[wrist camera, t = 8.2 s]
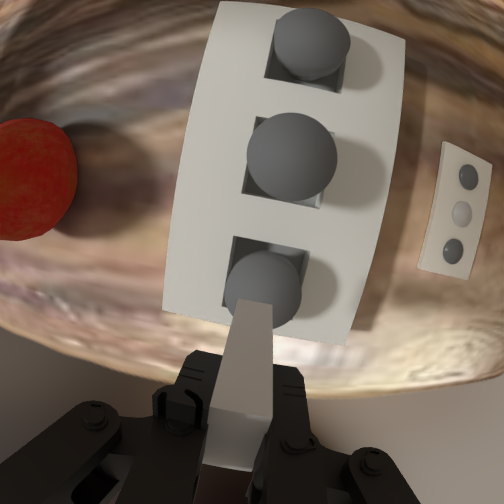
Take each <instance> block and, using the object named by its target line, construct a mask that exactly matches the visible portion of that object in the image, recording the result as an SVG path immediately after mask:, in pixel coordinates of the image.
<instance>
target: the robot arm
mask: <svg viewBox="0 0 504 504" xmlns="http://www.w3.org/2000/svg"><path fill="white" fill-rule="evenodd" d="M152 399H153V400H152V402H153V415H152V416H149V417H144V418H133V417H121V416H119V415H118V413H117V411H116V410H115V409H114V408H113V407H111V406H110V405H108V404H106V403H104V402H100V401H86V402H82V403H80V404H78V405H76V406H75V407H74V408H72V409H71V410H70V411H69V412H67V413H66V414H65V415H64V416H62V417H61V418H60V419H58V420H57V421H56V422H54V423H53V424H52V425H51V426H49V427H48V428H47V429H45V430H44V431H43V432H41V433H40V434H39V435H38V436H36V437H35V438H34V439H32V440H31V441H30V442H28V443H27V444H26V445H25V446H23V447H22V448H21V449H20V450H18V451H17V452H15V453H14V454H13V455H12V456H10V457H9V458H8V459H6V460H5V461H4V462H2V463H1V464H0V504H108V503H109V502H110V501H111V500H112V499H113V498H114V496H115V495H116V494H117V493H118V492H119V491H120V490H121V491H120V493H119V496H118V498H117V500H116V503H115V504H193V502H194V498H195V494H196V489H197V484H198V481H199V475H200V469H201V465H202V463H204V464H209V465H214V466H219V467H225V468H230V469H237V470H243V471H252V469H253V467H254V472H253V479H252V481H251V483H250V485H249V488H248V490H247V492H246V495H245V496H246V497H249V498H248V504H421V503H420V502H419V500H418V499H417V497H416V496H415V494H414V493H413V491H412V489H411V488H410V486H409V485H408V483H407V482H406V480H405V478H404V477H403V475H402V474H401V473H400V471H399V469H398V468H397V466H396V465H395V463H394V461H393V460H392V459H391V457H390V456H389V455H388V454H387V453H385V452H384V451H382V450H380V449H377V448H373V447H364V448H360V449H358V450H356V451H354V453H353V454H352V455H347V454H344V453H340V452H336V451H333V450H330V449H327V448H325V447H324V446H322V445H321V444H320V443H319V441H318V439H317V437H315V435H314V434H313V433H312V432H311V430H310V422H309V414H308V406H307V399H306V391H305V384H304V377H303V376H302V374H301V373H300V372H299V370H298V369H297V367H290V366H283V365H277V364H273V318H272V305H270V304H265V303H259V302H254V301H249V300H244V299H239V298H238V300H237V304H236V308H235V312H234V315H233V319H232V323H231V327H230V331H229V334H228V338H227V342H226V346H225V350H224V353H223V356H222V355H217V354H213V353H208V352H204V351H199V350H195V351H194V352H192V353H191V354H190V355H188V356H187V357H186V359H185V361H184V364H183V366H182V368H181V370H180V373H179V376H178V377H177V379H176V382H175V384H174V385H166V386H164V387H162V388H160V389H158V390H157V391H156V392H155V393H154V394H153V395H152ZM121 488H122V489H121Z"/></svg>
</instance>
